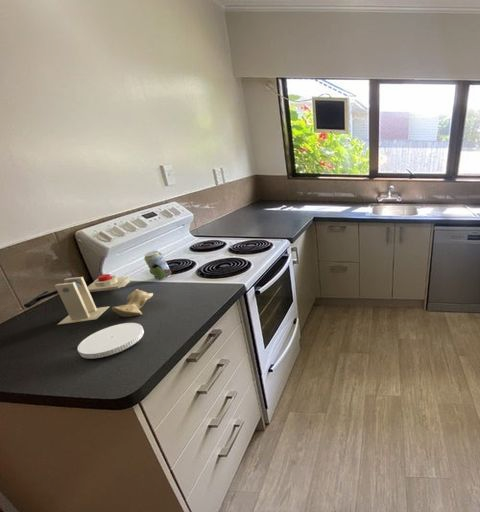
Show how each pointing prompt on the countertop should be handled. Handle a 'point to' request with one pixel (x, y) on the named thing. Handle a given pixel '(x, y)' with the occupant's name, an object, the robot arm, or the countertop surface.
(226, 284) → the countertop surface
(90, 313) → the bracket
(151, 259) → the beverage can
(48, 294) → the lever
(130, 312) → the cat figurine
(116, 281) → the block
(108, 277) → the stop button
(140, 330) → the plastic lid
